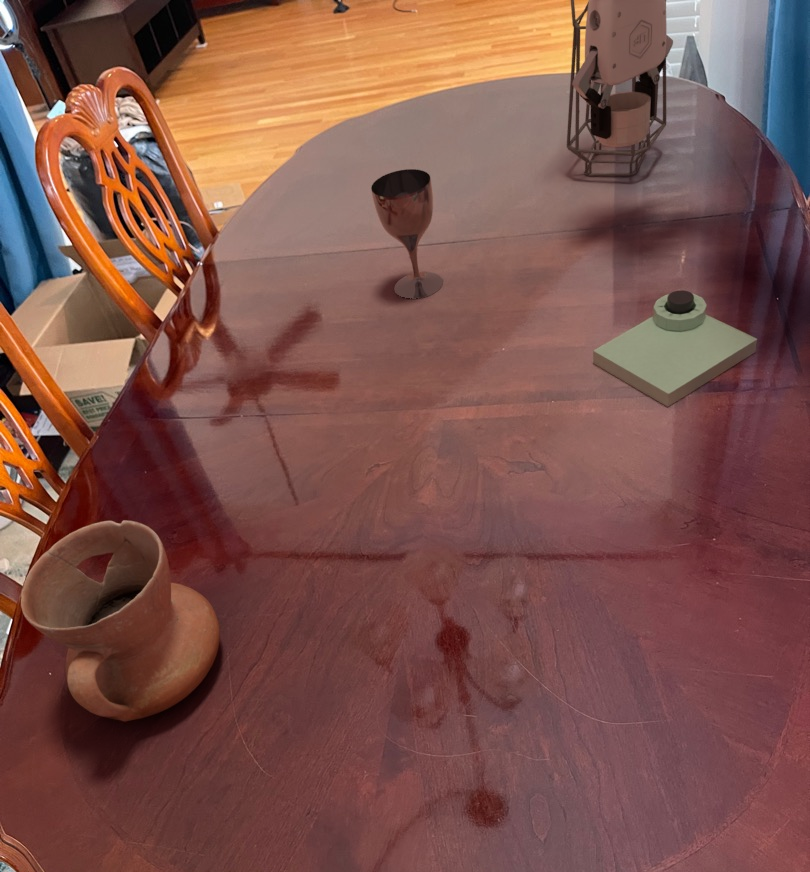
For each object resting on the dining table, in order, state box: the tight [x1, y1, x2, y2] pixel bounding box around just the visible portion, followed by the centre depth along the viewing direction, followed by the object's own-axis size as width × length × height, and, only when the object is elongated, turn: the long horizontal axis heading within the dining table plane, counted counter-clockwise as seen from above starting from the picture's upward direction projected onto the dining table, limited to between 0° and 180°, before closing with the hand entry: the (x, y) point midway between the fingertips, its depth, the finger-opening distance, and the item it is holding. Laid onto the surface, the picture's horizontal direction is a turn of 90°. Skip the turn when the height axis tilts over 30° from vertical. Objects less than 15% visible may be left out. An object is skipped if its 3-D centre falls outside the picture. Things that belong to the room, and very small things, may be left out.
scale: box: [592, 292, 758, 408], centre depth 96 cm, size 14×12×4 cm
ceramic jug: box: [20, 519, 221, 722], centre depth 73 cm, size 18×14×14 cm
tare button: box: [667, 289, 694, 314], centre depth 97 cm, size 3×3×2 cm
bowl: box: [595, 90, 651, 148], centre depth 109 cm, size 7×7×4 cm
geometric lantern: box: [566, 0, 667, 177], centre depth 120 cm, size 16×16×35 cm
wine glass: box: [370, 168, 444, 300], centre depth 112 cm, size 8×8×15 cm
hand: (622, 124), depth 110 cm, fingers closed on bowl, 7 cm apart
